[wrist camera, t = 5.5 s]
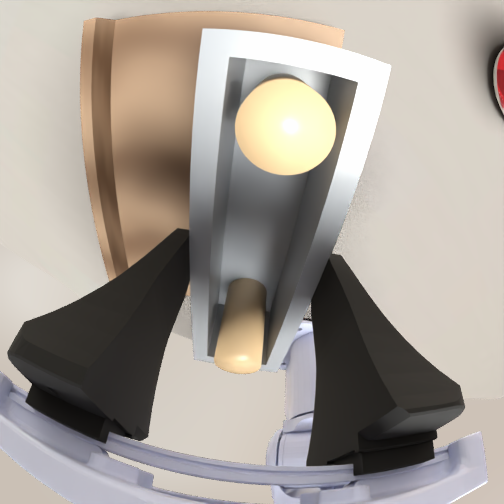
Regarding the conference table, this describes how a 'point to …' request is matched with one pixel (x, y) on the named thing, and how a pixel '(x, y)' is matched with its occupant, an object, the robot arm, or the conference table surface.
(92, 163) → the brown piece
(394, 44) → the conference table surface
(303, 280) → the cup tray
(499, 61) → the soda can
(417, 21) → the conference table surface
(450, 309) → the conference table surface
